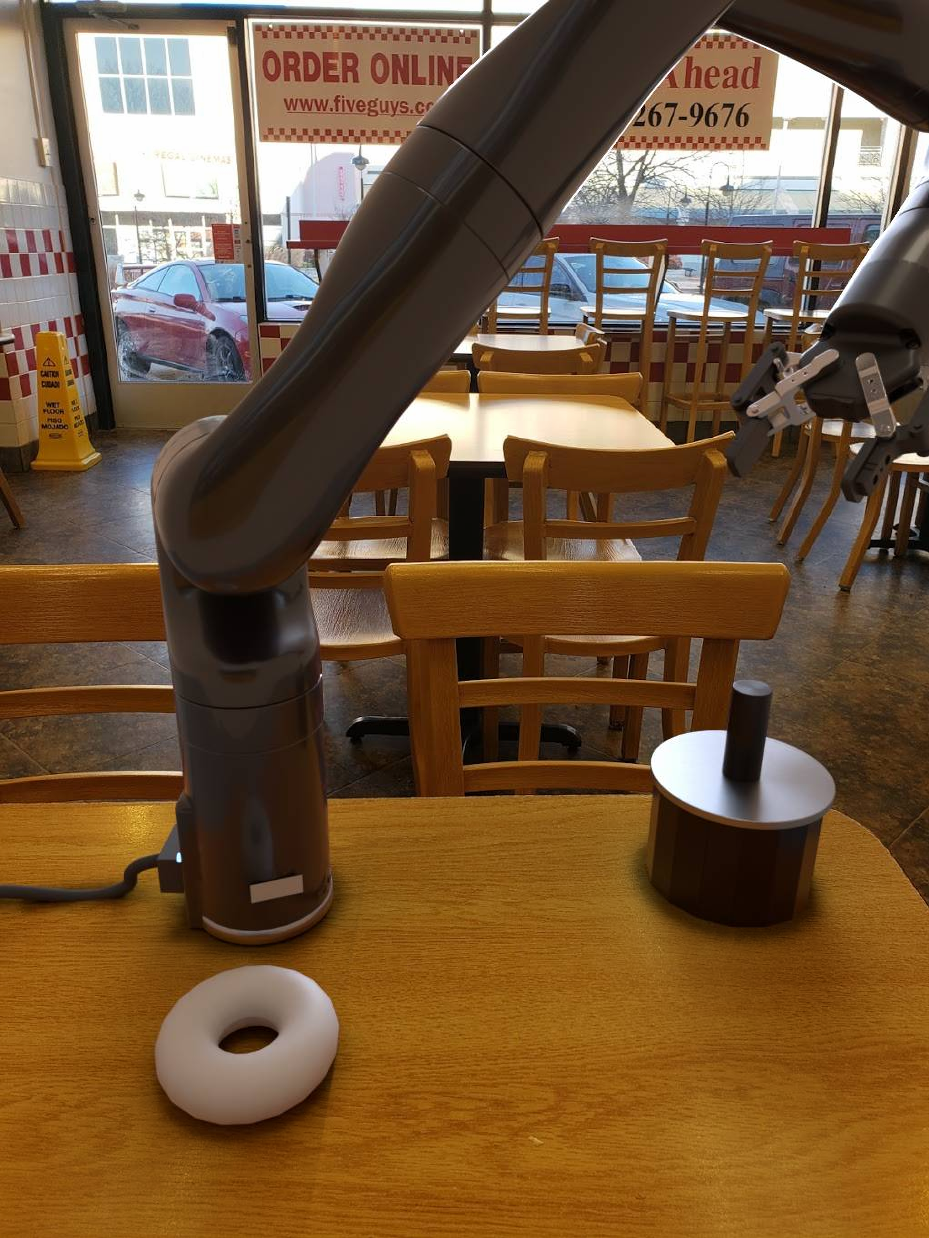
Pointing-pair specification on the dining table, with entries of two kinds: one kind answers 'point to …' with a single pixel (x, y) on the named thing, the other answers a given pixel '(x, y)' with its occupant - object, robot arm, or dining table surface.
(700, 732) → the lid
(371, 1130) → the dining table surface
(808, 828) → the pot
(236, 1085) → the donut
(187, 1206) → the dining table surface
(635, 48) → the robot arm
